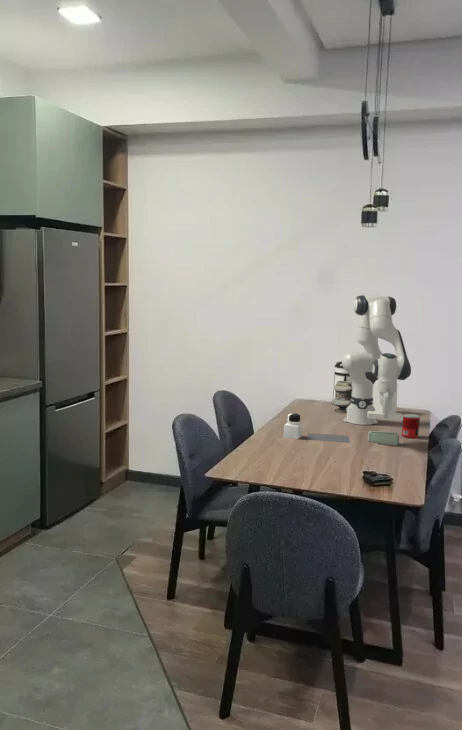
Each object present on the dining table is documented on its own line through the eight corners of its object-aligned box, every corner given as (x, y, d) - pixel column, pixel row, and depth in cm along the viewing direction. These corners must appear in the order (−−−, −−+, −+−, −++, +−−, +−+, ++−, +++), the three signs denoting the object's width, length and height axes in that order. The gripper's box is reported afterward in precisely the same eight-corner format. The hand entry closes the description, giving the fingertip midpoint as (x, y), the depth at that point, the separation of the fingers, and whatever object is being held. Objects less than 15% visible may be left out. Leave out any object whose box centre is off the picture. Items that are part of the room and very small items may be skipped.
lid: (367, 416, 308) (367, 408, 307) (401, 418, 305) (401, 410, 305) (368, 418, 302) (368, 410, 301) (402, 420, 300) (403, 412, 299)
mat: (307, 434, 317) (307, 433, 317) (348, 437, 314) (348, 435, 314) (307, 441, 303) (307, 439, 303) (349, 444, 301) (349, 442, 300)
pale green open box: (367, 440, 309) (368, 430, 308) (397, 443, 307) (397, 432, 306) (368, 443, 304) (369, 433, 303) (398, 445, 302) (399, 435, 301)
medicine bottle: (302, 437, 310) (303, 413, 308) (297, 440, 304) (298, 416, 302) (288, 435, 313) (289, 411, 311) (283, 438, 306) (284, 414, 305)
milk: (378, 411, 385) (381, 368, 382) (396, 413, 379) (399, 370, 375) (370, 413, 376) (373, 370, 372) (388, 416, 369) (391, 372, 366)
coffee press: (330, 406, 393) (333, 358, 389) (330, 402, 409) (333, 355, 405) (359, 408, 390) (362, 360, 387) (358, 403, 406) (361, 357, 402)
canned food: (418, 439, 316) (420, 417, 315) (402, 437, 318) (403, 416, 317) (417, 435, 324) (419, 414, 322) (401, 434, 325) (402, 413, 324)
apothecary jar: (332, 408, 386) (333, 379, 384) (352, 410, 384) (354, 380, 382) (332, 412, 374) (334, 382, 372) (353, 414, 373) (355, 383, 370)
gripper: (396, 391, 291) (394, 421, 293) (391, 385, 311) (389, 412, 313) (382, 390, 292) (380, 420, 294) (378, 384, 312) (376, 412, 314)
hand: (384, 416), depth 303 cm, fingers closed on lid, 6 cm apart
